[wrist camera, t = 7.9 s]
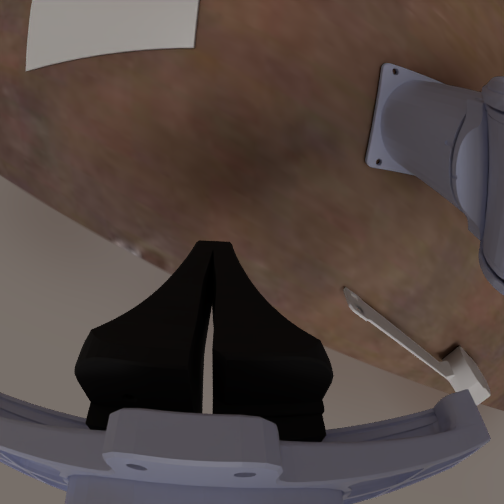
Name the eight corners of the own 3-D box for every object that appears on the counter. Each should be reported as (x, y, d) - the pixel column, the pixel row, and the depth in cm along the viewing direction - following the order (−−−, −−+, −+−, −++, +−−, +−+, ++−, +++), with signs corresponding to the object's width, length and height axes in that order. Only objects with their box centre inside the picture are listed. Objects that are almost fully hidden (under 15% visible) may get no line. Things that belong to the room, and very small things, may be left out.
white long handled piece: (365, 243, 28) (336, 271, 29) (395, 296, 21) (356, 328, 22) (480, 363, 39) (463, 377, 41) (497, 397, 32) (478, 411, 34)
